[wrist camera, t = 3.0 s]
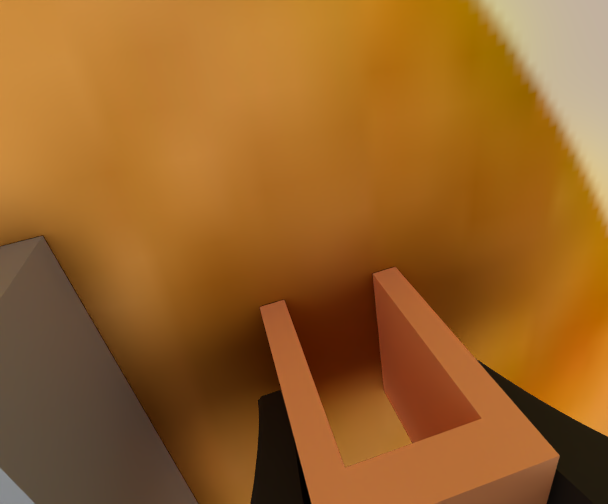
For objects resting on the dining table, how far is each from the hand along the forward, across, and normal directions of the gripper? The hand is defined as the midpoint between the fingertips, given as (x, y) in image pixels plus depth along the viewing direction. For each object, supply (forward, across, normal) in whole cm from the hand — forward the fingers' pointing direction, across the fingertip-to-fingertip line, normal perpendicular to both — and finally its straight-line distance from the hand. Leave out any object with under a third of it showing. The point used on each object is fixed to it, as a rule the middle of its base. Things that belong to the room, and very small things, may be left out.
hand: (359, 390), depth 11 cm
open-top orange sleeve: (+2, 0, 0) cm, 2 cm away
